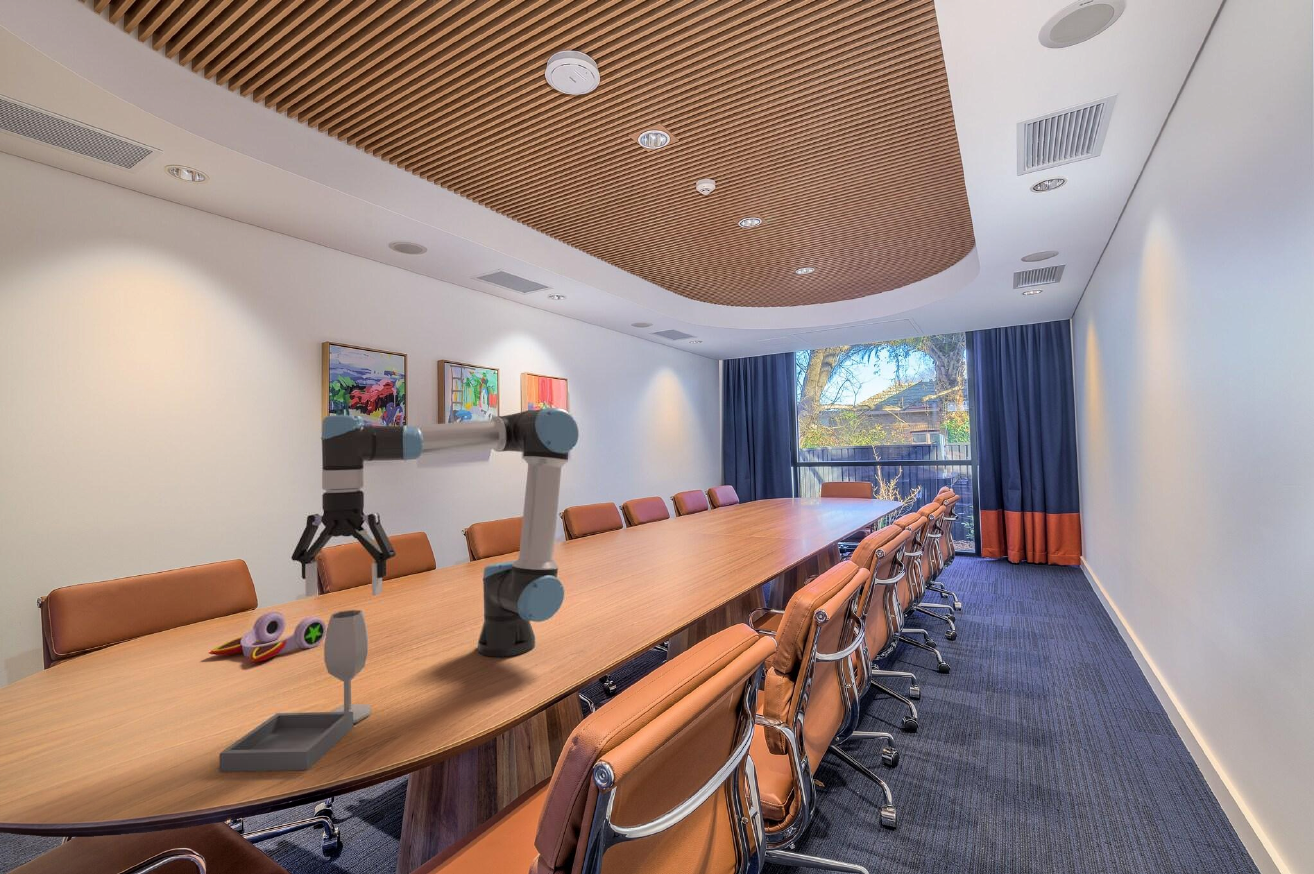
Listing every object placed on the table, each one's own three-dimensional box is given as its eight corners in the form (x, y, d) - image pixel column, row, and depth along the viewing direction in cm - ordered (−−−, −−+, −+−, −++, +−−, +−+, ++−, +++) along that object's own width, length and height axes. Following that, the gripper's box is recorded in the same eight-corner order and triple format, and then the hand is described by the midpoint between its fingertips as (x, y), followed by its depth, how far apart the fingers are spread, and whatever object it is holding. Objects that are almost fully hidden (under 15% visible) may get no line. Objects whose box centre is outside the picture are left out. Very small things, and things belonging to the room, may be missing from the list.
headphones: (329, 615, 167) (259, 627, 149) (325, 651, 166) (254, 667, 147) (281, 609, 174) (209, 619, 156) (278, 643, 173) (204, 658, 155)
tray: (353, 727, 115) (353, 711, 115) (307, 769, 100) (307, 751, 100) (277, 729, 115) (276, 713, 115) (219, 771, 100) (219, 753, 100)
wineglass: (335, 709, 123) (334, 608, 123) (378, 706, 124) (376, 607, 124) (314, 728, 114) (313, 621, 115) (361, 726, 115) (359, 619, 116)
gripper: (411, 488, 124) (412, 588, 124) (294, 490, 124) (295, 590, 124) (395, 490, 116) (396, 597, 116) (271, 493, 117) (271, 599, 116)
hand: (344, 594), depth 120 cm, fingers open, 13 cm apart
